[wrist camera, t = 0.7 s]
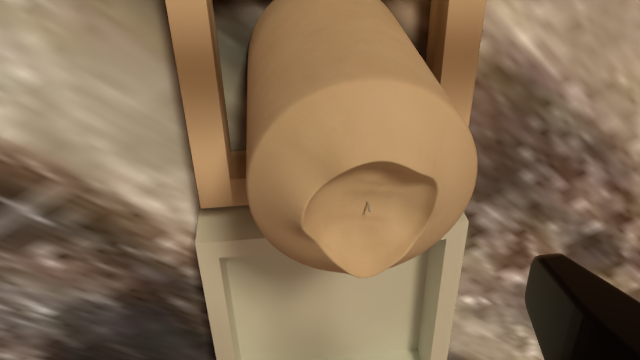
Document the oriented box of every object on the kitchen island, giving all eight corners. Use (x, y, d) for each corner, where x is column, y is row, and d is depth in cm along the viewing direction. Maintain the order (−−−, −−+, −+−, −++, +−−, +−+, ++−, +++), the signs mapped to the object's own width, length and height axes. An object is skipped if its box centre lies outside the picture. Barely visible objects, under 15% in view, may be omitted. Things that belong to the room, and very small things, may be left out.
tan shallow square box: (444, 161, 24) (459, 188, 22) (204, 179, 23) (200, 208, 21) (476, -103, 18) (499, -93, 16) (161, -91, 17) (151, -80, 16)
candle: (379, 129, 22) (455, 321, 14) (240, 113, 21) (233, 309, 13) (417, -11, 20) (540, 126, 11) (257, -37, 19) (262, 92, 10)
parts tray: (428, 350, 30) (441, 391, 28) (228, 370, 29) (226, 412, 27) (449, 186, 24) (468, 221, 22) (200, 204, 24) (194, 243, 21)
